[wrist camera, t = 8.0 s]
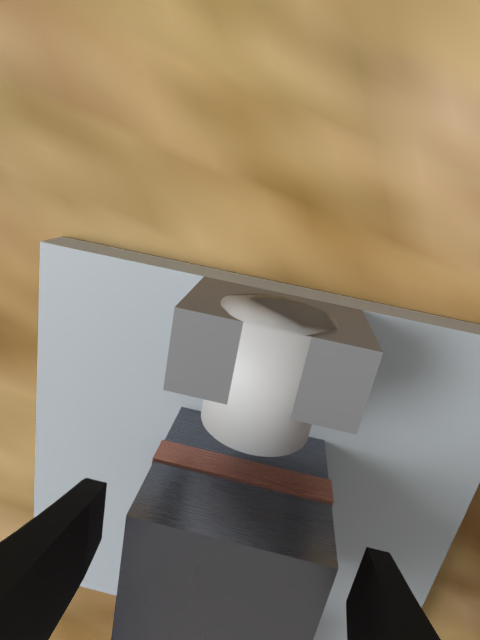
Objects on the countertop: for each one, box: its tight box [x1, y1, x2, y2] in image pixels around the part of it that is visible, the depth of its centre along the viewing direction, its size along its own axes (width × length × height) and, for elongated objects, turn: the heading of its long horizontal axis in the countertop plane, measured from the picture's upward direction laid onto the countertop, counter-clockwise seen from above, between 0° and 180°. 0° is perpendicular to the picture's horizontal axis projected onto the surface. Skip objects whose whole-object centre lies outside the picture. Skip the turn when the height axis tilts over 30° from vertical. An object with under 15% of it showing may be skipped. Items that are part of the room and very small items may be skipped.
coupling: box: [111, 407, 338, 640], centre depth 12 cm, size 5×5×4 cm
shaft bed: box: [34, 236, 480, 640], centre depth 13 cm, size 13×14×4 cm
